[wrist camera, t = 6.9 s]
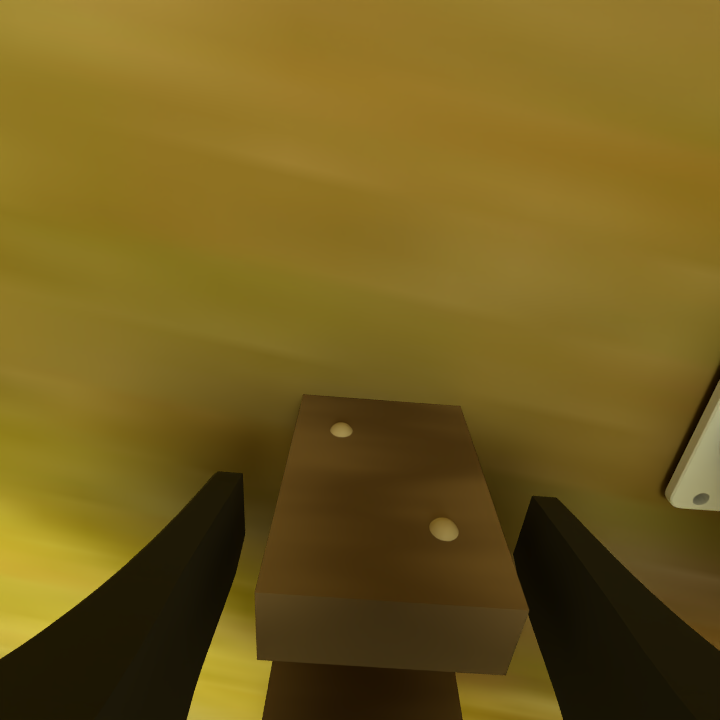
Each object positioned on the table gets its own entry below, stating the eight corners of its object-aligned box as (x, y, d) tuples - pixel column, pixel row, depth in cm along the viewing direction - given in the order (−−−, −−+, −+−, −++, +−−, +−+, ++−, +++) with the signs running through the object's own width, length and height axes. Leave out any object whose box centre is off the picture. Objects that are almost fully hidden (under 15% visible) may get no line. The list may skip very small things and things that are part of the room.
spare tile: (461, 400, 15) (531, 603, 8) (450, 456, 16) (505, 675, 9) (303, 388, 15) (255, 585, 8) (301, 445, 15) (256, 659, 9)
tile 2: (433, 527, 17) (471, 758, 11) (424, 568, 18) (454, 801, 12) (297, 517, 17) (256, 745, 11) (296, 559, 18) (258, 790, 12)
